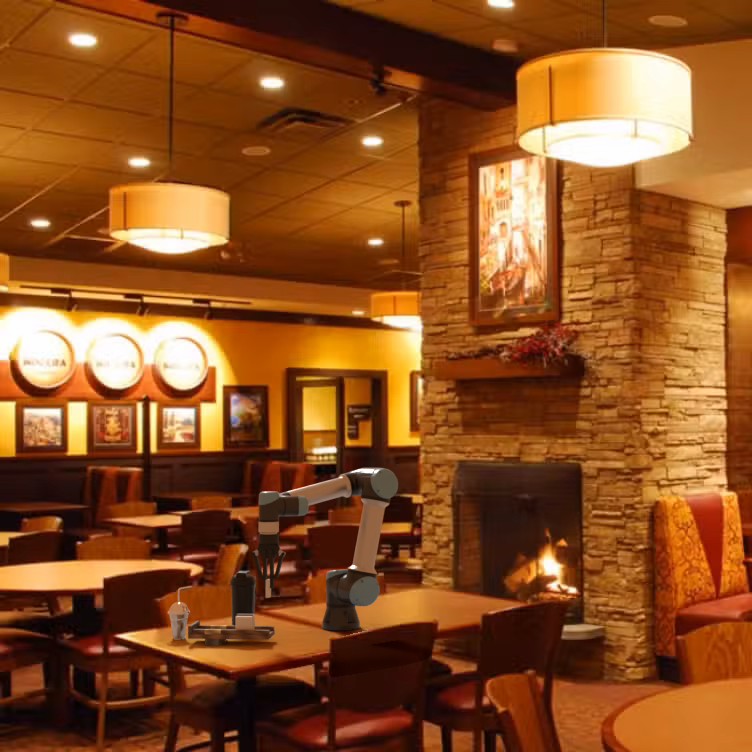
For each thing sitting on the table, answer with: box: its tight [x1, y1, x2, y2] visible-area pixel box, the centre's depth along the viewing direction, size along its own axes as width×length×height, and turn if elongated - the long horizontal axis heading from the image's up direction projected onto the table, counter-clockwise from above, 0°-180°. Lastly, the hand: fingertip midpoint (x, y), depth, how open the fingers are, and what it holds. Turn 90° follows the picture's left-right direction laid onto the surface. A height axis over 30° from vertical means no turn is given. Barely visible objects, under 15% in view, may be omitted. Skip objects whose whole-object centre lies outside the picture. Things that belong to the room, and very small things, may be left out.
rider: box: [235, 614, 256, 630], centre depth 415 cm, size 6×6×7 cm
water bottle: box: [229, 570, 257, 625], centre depth 443 cm, size 10×10×23 cm
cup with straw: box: [167, 585, 193, 641], centre depth 425 cm, size 8×9×20 cm
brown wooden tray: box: [187, 620, 276, 647], centre depth 415 cm, size 30×13×7 cm, turn 84°
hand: (268, 597), depth 414 cm, fingers closed
